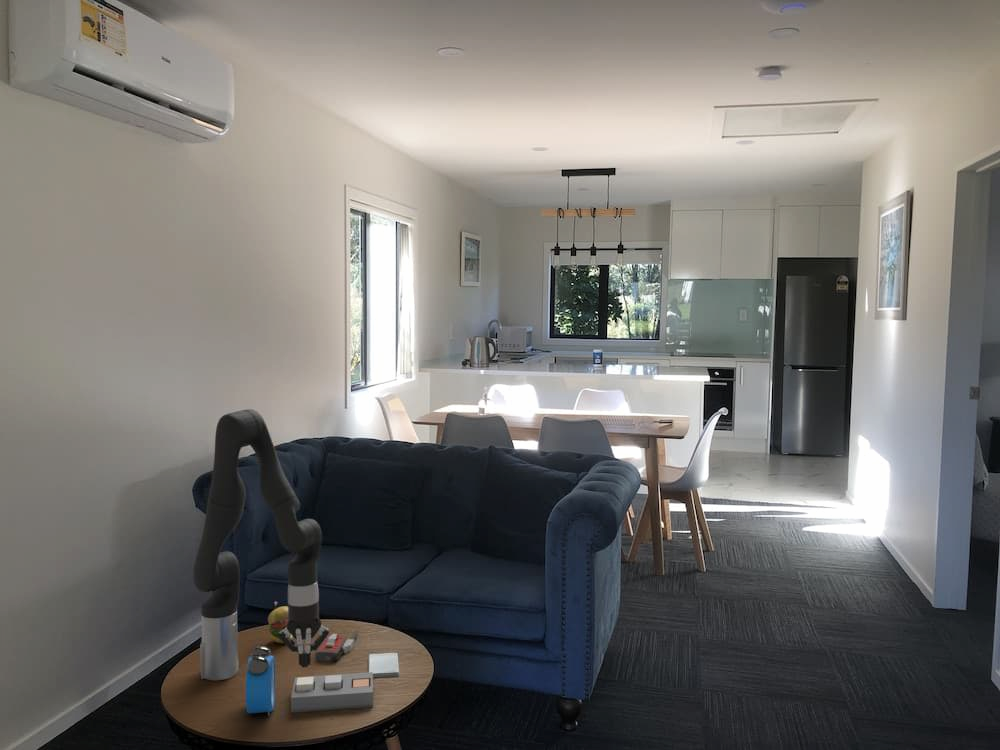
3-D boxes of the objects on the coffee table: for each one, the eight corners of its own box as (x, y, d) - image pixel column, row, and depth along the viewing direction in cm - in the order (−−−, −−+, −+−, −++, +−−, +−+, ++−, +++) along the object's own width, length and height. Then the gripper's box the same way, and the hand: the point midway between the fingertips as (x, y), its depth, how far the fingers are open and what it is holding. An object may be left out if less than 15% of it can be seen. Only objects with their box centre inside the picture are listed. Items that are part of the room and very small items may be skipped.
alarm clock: (271, 722, 194) (270, 662, 193) (245, 724, 193) (243, 664, 191) (275, 696, 207) (274, 640, 205) (250, 698, 206) (249, 641, 204)
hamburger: (284, 648, 235) (283, 608, 234) (263, 644, 238) (262, 605, 237) (298, 637, 243) (298, 599, 242) (277, 634, 245) (277, 596, 244)
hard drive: (399, 672, 219) (397, 652, 231) (368, 673, 217) (368, 653, 229) (399, 677, 219) (397, 657, 231) (368, 679, 217) (368, 659, 230)
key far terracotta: (353, 698, 204) (352, 687, 204) (353, 691, 208) (353, 679, 208) (368, 697, 205) (368, 686, 205) (369, 689, 209) (368, 678, 209)
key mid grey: (324, 694, 203) (324, 683, 203) (325, 687, 207) (325, 675, 207) (341, 693, 204) (340, 682, 203) (341, 685, 208) (341, 674, 207)
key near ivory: (296, 696, 202) (296, 685, 202) (297, 688, 206) (297, 677, 206) (312, 695, 203) (312, 683, 202) (313, 687, 206) (313, 676, 206)
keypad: (291, 712, 199) (291, 697, 198) (295, 691, 209) (295, 677, 209) (373, 706, 202) (372, 692, 201) (372, 685, 213) (372, 672, 212)
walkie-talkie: (344, 665, 226) (360, 635, 245) (343, 650, 225) (360, 621, 245) (313, 664, 226) (332, 634, 246) (313, 649, 226) (332, 620, 246)
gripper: (274, 606, 197) (276, 674, 199) (329, 603, 199) (330, 670, 201) (278, 596, 205) (279, 661, 206) (330, 592, 207) (332, 658, 208)
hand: (305, 666), depth 203 cm, fingers closed
